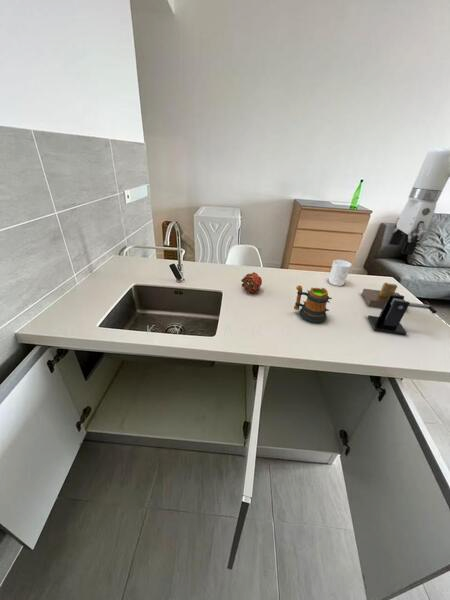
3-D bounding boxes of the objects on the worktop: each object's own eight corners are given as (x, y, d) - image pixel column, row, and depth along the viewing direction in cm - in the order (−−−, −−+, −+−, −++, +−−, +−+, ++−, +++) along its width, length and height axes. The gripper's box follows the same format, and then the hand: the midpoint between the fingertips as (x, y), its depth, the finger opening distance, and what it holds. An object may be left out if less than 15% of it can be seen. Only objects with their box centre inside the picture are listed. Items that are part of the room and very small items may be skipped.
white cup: (347, 286, 112) (354, 266, 107) (331, 286, 112) (337, 266, 107) (340, 279, 119) (347, 260, 114) (324, 278, 119) (330, 259, 113)
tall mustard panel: (390, 296, 100) (396, 283, 97) (391, 297, 99) (397, 285, 96) (378, 294, 101) (384, 282, 98) (379, 296, 100) (385, 284, 97)
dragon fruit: (249, 300, 101) (248, 290, 112) (267, 290, 98) (264, 281, 109) (238, 284, 98) (238, 275, 109) (256, 273, 96) (255, 265, 107)
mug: (325, 311, 94) (333, 284, 88) (327, 326, 85) (337, 298, 79) (291, 305, 96) (296, 279, 90) (290, 319, 88) (296, 291, 82)
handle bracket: (395, 322, 90) (410, 294, 84) (405, 335, 83) (421, 306, 77) (367, 317, 91) (379, 290, 85) (374, 331, 84) (387, 302, 78)
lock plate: (395, 298, 105) (398, 292, 103) (405, 311, 96) (409, 304, 95) (361, 294, 107) (363, 288, 105) (368, 306, 98) (371, 299, 97)
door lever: (425, 305, 83) (428, 299, 82) (434, 315, 78) (438, 309, 77) (387, 300, 85) (390, 294, 84) (394, 310, 80) (397, 303, 79)
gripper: (455, 201, 66) (424, 259, 75) (422, 192, 81) (400, 242, 90) (425, 198, 67) (398, 256, 76) (398, 190, 82) (378, 240, 91)
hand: (399, 249), depth 83 cm, fingers open, 9 cm apart
